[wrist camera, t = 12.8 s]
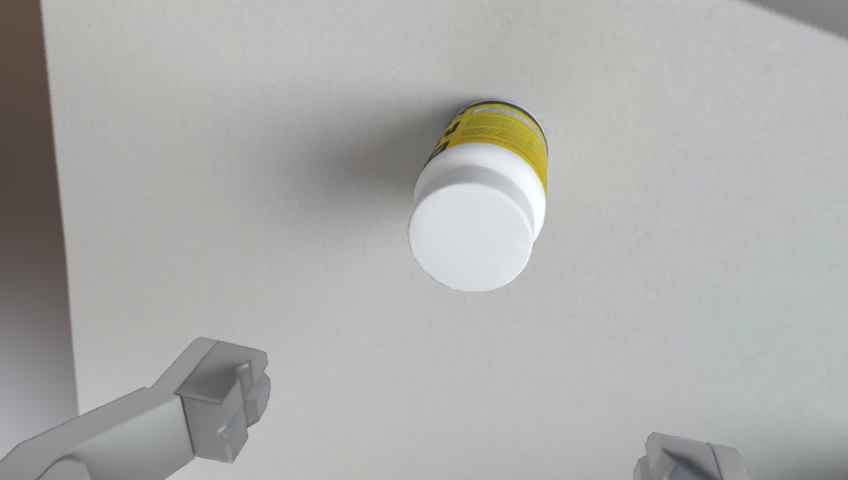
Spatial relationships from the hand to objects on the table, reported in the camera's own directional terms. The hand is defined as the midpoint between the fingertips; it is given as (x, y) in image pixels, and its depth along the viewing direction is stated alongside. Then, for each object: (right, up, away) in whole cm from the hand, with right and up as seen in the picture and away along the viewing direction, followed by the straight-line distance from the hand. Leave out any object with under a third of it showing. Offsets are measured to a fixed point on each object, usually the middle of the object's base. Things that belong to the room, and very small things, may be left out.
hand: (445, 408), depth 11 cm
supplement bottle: (+3, +8, +13) cm, 15 cm away
